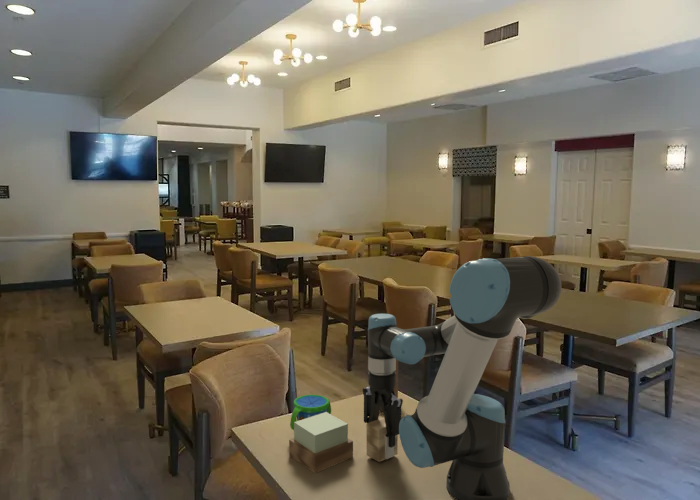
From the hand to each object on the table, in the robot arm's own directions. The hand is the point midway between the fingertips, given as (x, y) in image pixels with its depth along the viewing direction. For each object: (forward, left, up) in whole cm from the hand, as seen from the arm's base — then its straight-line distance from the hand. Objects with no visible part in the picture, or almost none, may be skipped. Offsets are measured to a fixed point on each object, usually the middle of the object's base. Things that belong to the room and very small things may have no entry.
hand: (382, 453), depth 144 cm
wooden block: (+24, -25, -1) cm, 34 cm away
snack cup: (+24, +6, -1) cm, 25 cm away
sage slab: (+12, +12, +3) cm, 17 cm away
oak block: (0, 0, 0) cm, 0 cm away
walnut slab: (+11, +12, -2) cm, 17 cm away
